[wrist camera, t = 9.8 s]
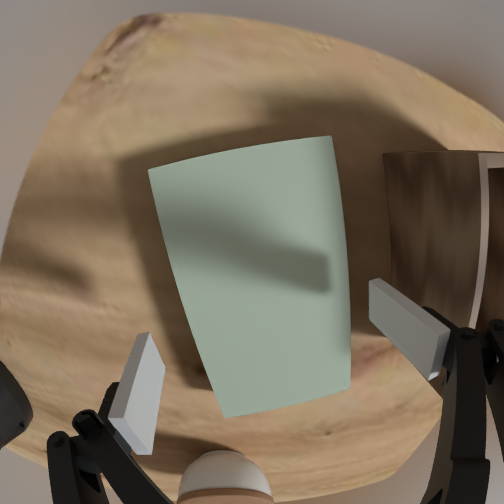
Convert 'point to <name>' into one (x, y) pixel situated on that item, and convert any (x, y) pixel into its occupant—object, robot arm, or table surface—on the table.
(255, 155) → the lid
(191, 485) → the lidded jar
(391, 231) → the box
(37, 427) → the table surface
